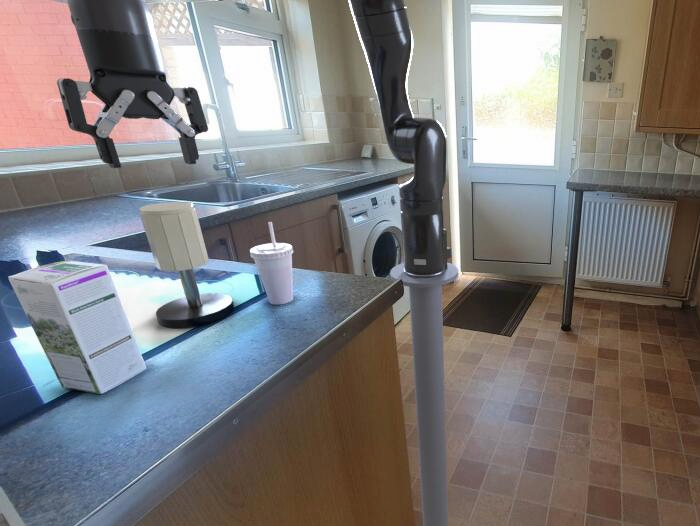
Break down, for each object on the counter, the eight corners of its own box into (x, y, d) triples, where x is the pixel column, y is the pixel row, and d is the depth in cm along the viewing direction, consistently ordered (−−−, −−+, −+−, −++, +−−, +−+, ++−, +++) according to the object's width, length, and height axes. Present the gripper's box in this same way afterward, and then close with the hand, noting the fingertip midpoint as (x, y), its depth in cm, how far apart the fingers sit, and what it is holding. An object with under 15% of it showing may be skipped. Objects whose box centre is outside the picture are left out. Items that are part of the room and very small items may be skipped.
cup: (197, 255, 67) (182, 200, 64) (215, 263, 64) (201, 206, 60) (150, 264, 62) (132, 206, 59) (167, 274, 59) (148, 213, 56)
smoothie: (307, 300, 73) (295, 223, 67) (269, 311, 68) (252, 230, 63) (292, 290, 77) (278, 216, 71) (254, 299, 72) (237, 222, 67)
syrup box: (149, 368, 52) (110, 262, 47) (99, 397, 47) (49, 280, 41) (111, 362, 53) (69, 257, 48) (58, 390, 48) (3, 275, 42)
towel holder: (218, 296, 73) (193, 200, 66) (245, 311, 68) (221, 210, 61) (148, 315, 65) (112, 210, 59) (173, 335, 60) (137, 222, 53)
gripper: (42, 16, 44) (95, 172, 50) (196, 39, 55) (224, 164, 61) (26, 22, 47) (77, 166, 54) (173, 42, 58) (201, 160, 65)
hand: (155, 165), depth 57 cm, fingers open, 8 cm apart
